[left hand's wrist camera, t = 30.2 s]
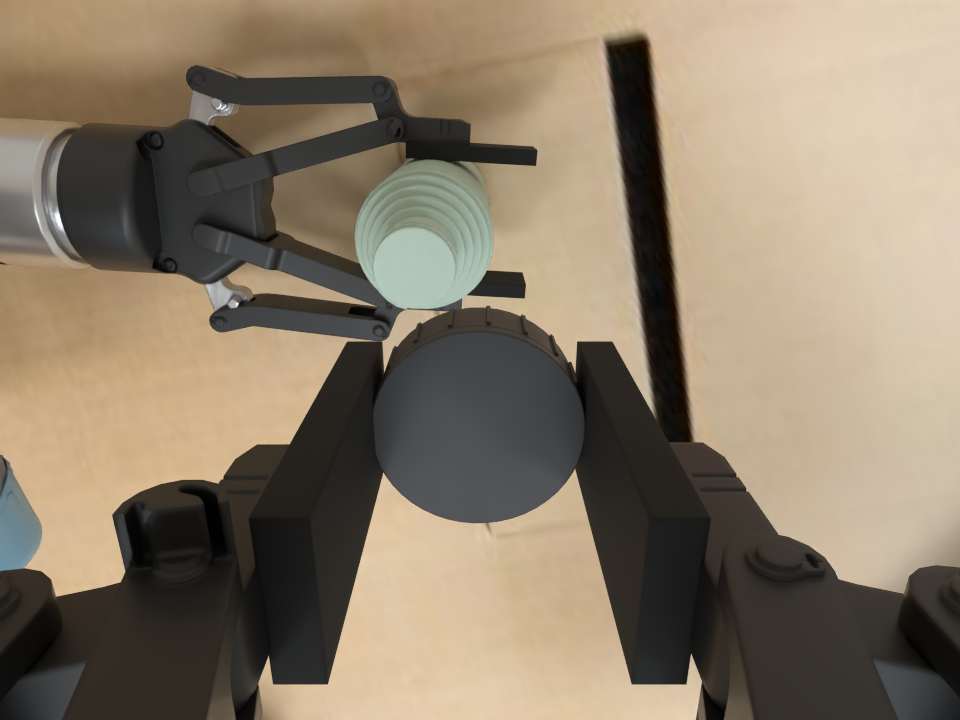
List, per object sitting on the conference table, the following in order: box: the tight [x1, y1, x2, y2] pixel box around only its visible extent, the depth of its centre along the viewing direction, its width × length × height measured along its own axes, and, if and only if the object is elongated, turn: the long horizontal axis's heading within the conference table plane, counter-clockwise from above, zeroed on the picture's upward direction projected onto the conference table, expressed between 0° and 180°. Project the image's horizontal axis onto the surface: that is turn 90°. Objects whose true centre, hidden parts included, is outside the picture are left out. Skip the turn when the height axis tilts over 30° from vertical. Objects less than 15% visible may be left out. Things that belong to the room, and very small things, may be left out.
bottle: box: [354, 158, 494, 310], centre depth 33 cm, size 6×6×18 cm
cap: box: [373, 306, 586, 523], centre depth 14 cm, size 4×4×2 cm
